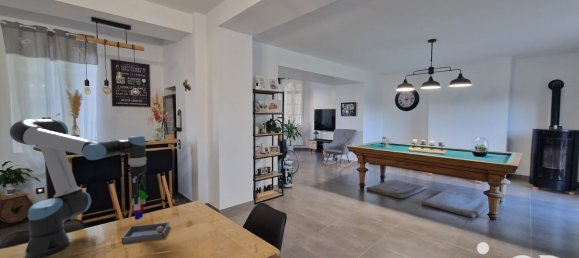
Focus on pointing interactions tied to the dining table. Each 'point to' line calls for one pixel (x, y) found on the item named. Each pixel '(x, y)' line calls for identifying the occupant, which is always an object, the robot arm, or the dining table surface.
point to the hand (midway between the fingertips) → (139, 206)
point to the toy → (140, 212)
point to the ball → (160, 229)
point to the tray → (144, 232)
